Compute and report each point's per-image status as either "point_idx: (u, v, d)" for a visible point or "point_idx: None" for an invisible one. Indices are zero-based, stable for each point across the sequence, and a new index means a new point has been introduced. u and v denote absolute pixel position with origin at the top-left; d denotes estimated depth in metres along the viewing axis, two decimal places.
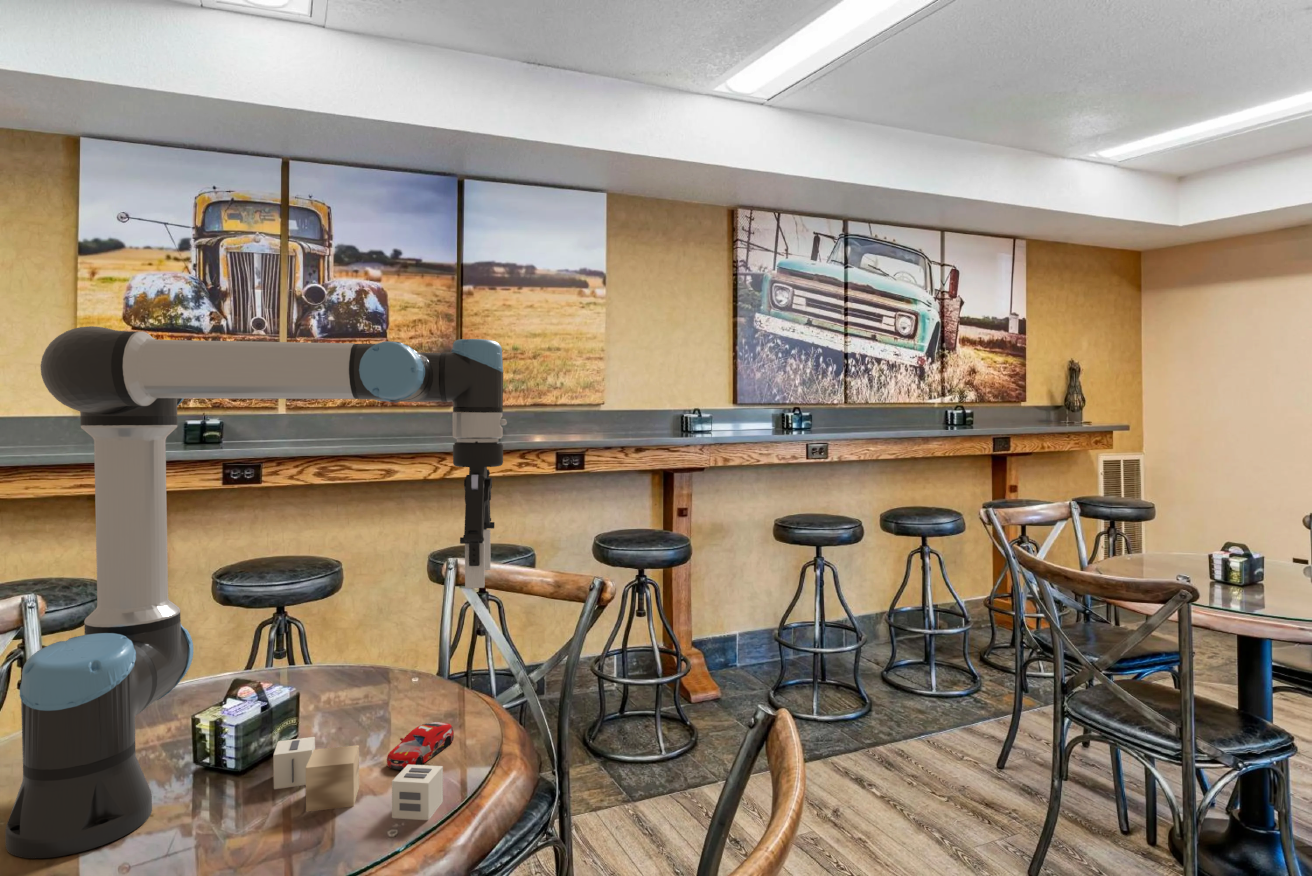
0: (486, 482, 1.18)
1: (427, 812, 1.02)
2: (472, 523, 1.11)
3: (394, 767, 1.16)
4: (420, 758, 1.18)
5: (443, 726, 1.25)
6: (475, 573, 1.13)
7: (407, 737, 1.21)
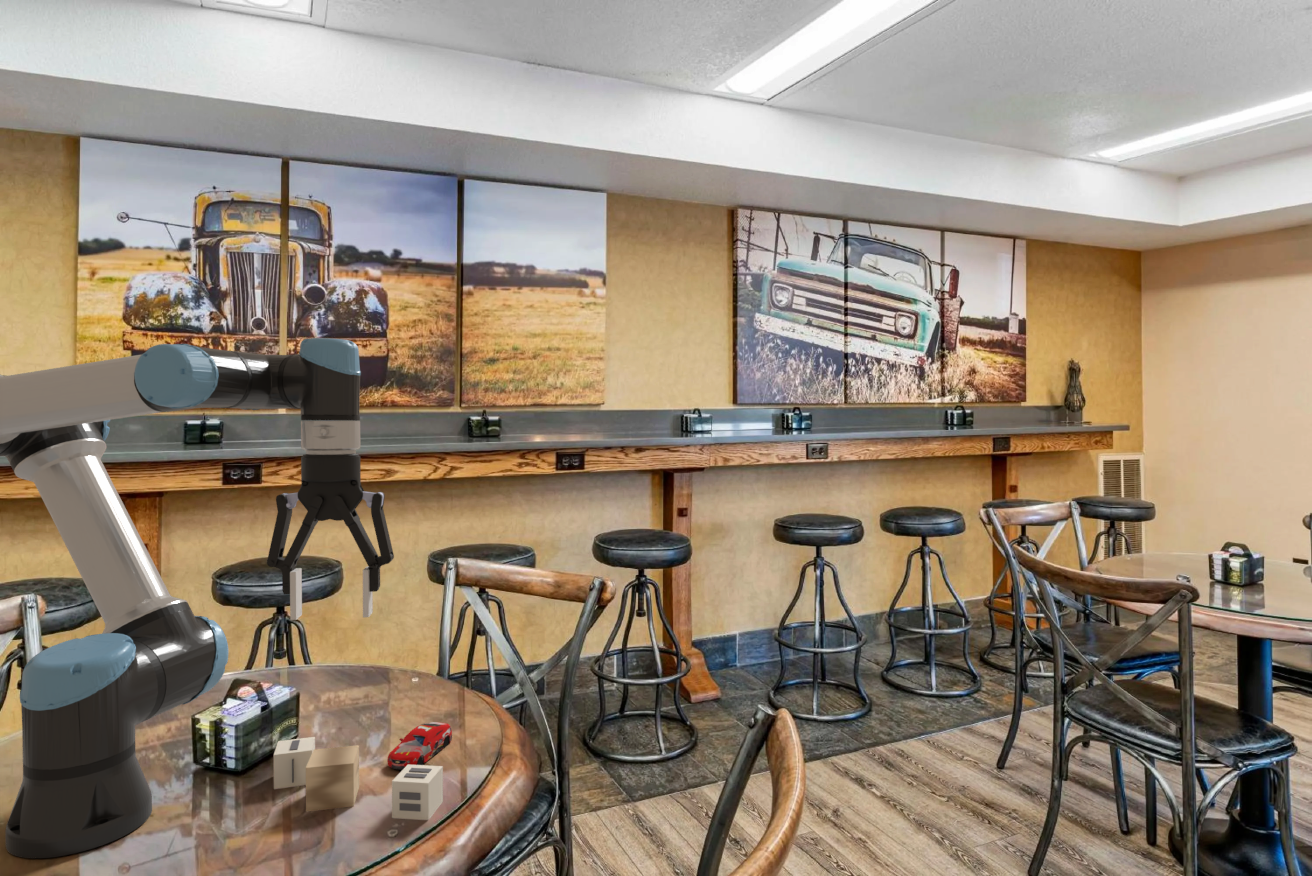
0: None
1: (427, 812, 1.02)
2: None
3: (395, 767, 1.16)
4: (421, 758, 1.18)
5: (442, 726, 1.25)
6: None
7: (407, 737, 1.21)
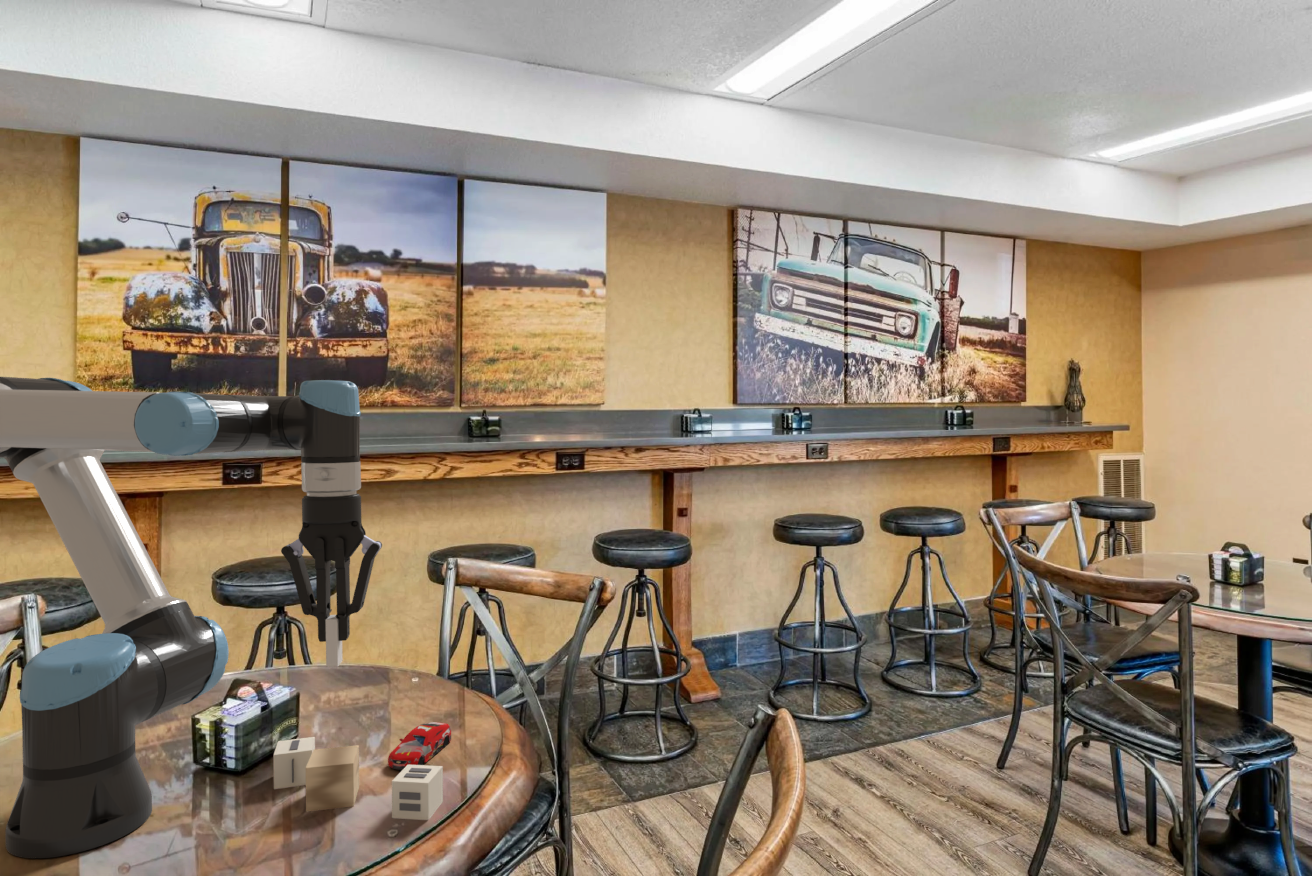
0: None
1: (427, 812, 1.02)
2: None
3: (396, 767, 1.16)
4: (422, 758, 1.18)
5: (442, 726, 1.25)
6: None
7: (407, 737, 1.21)
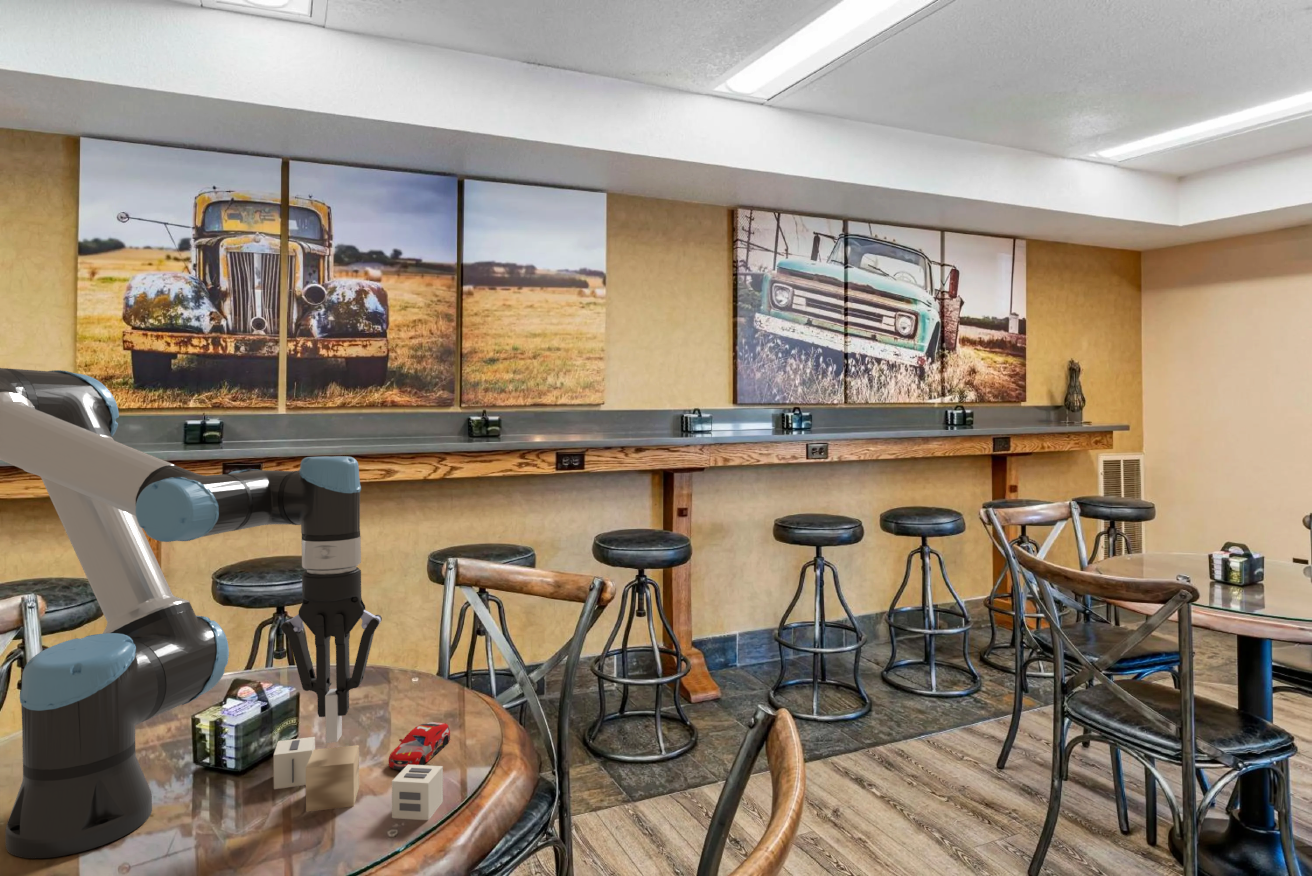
0: None
1: (427, 812, 1.02)
2: None
3: (398, 768, 1.16)
4: (423, 758, 1.18)
5: (441, 726, 1.25)
6: None
7: (407, 738, 1.21)
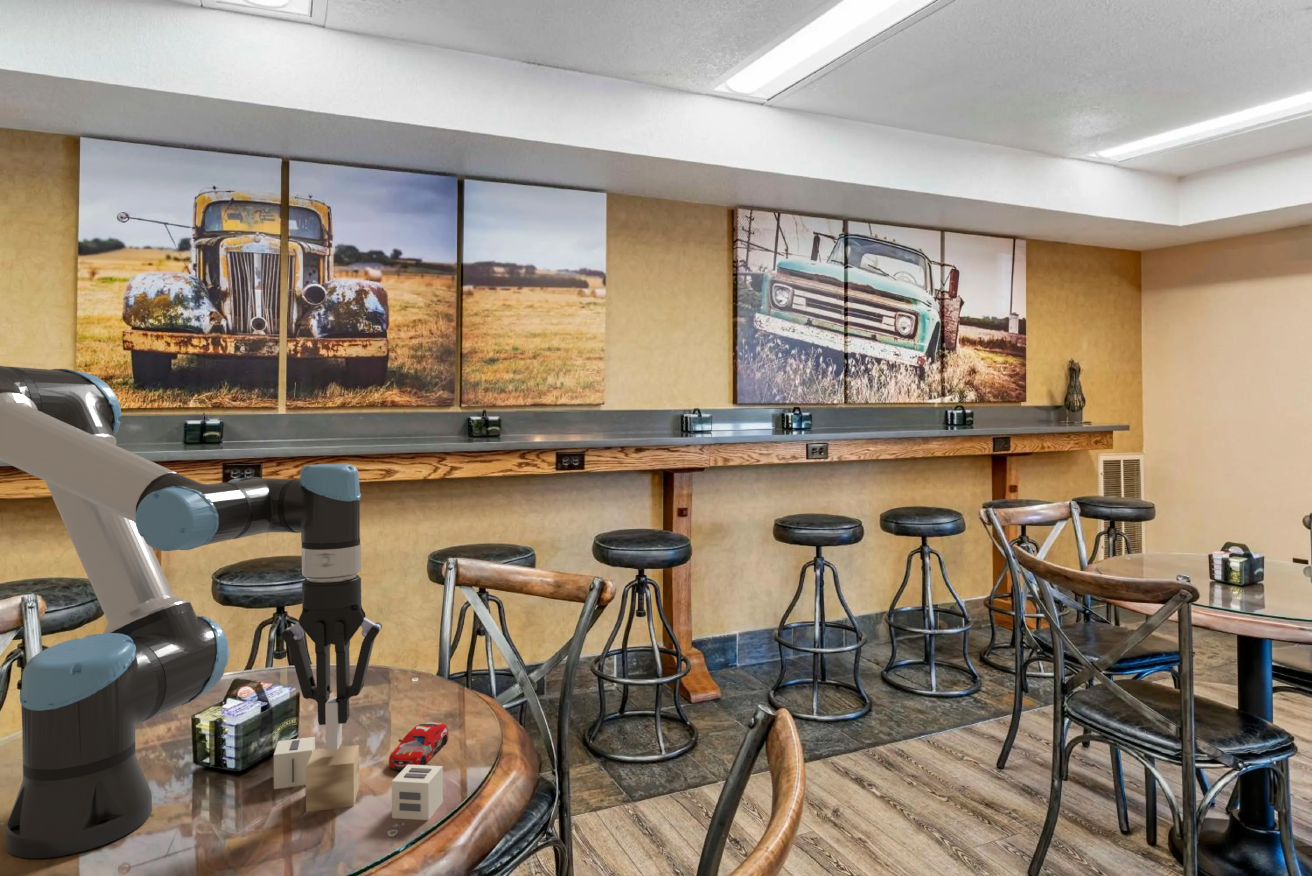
0: None
1: (427, 812, 1.02)
2: None
3: (398, 768, 1.16)
4: (423, 757, 1.18)
5: (439, 725, 1.25)
6: None
7: (406, 738, 1.21)
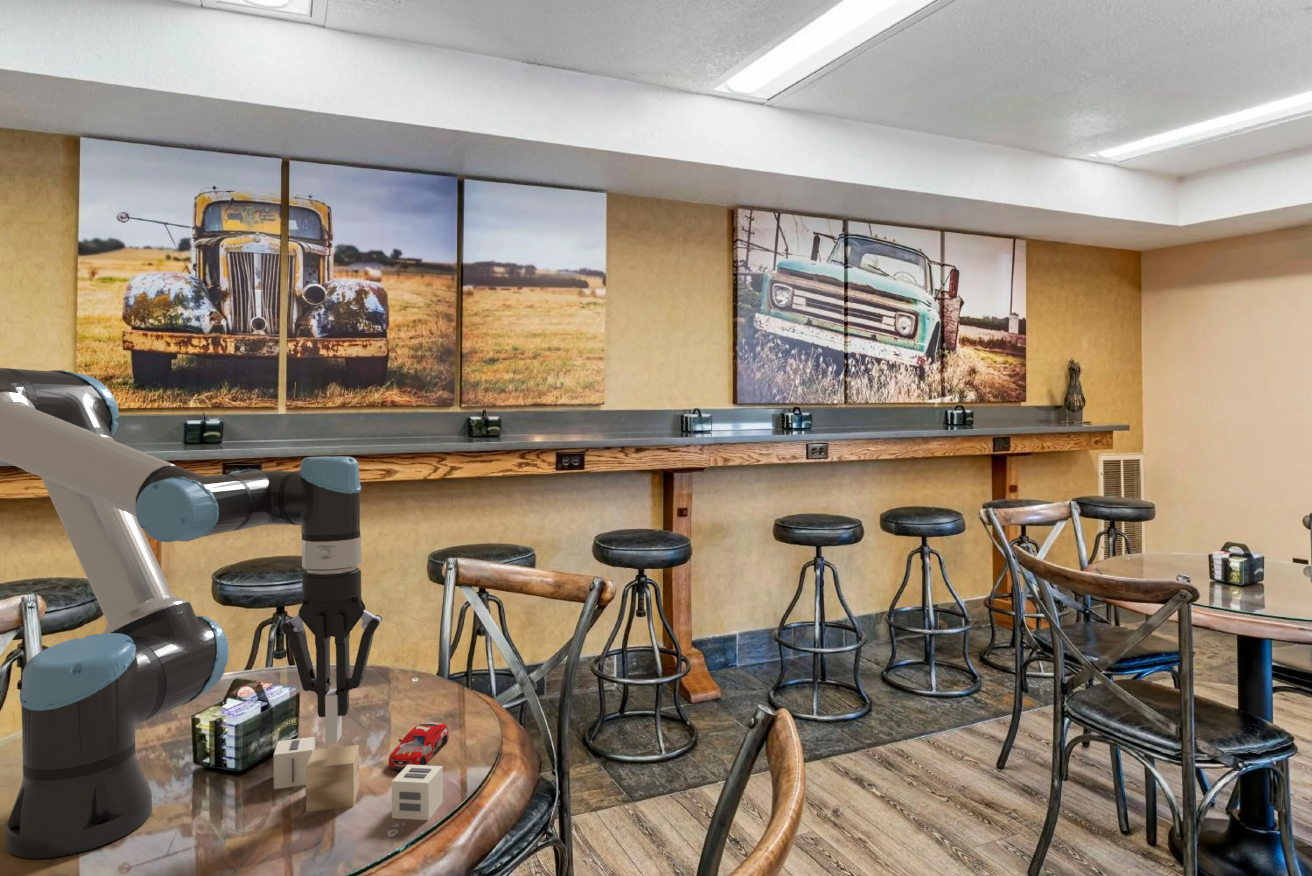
0: None
1: (427, 812, 1.02)
2: None
3: (398, 768, 1.16)
4: (423, 758, 1.18)
5: (439, 725, 1.25)
6: None
7: (406, 738, 1.21)
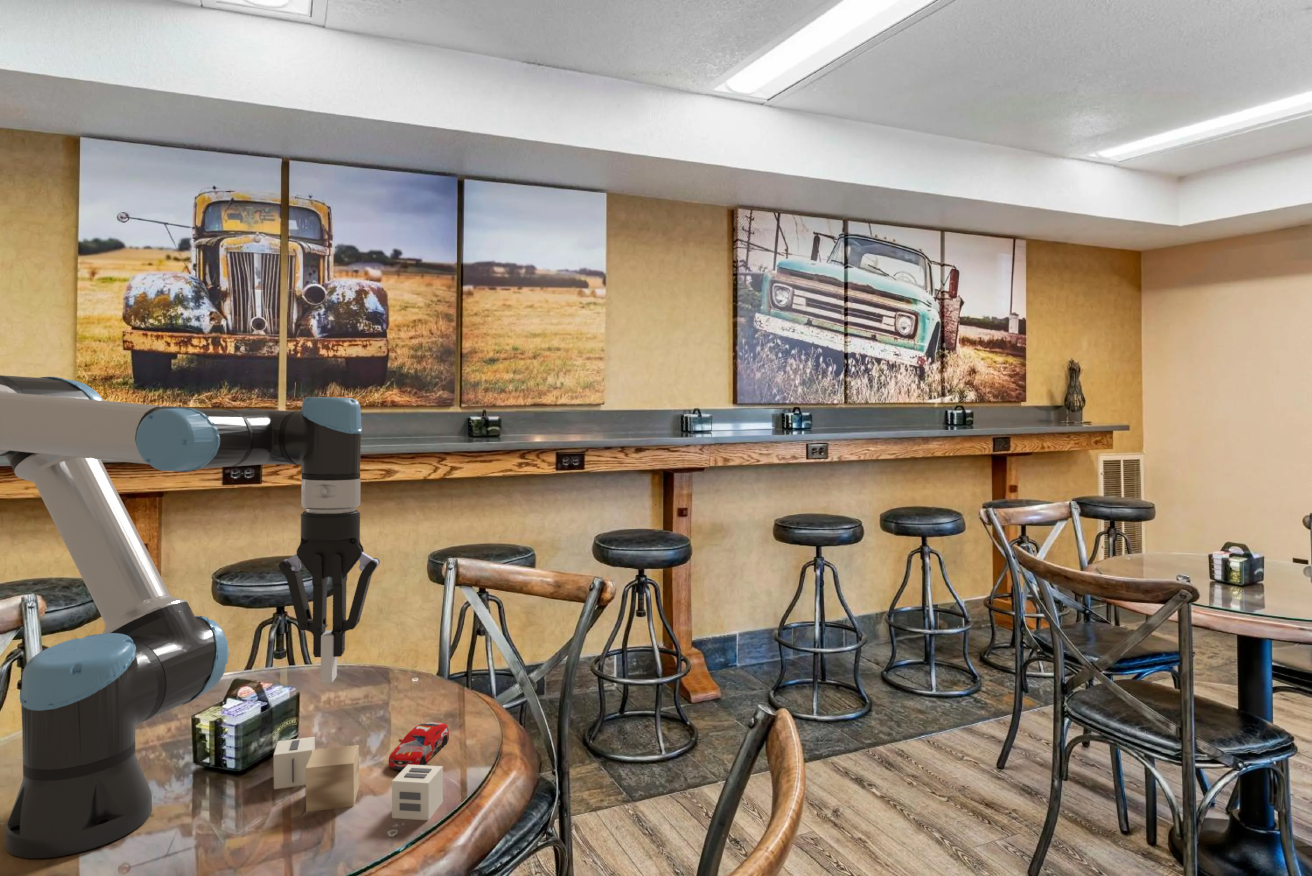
0: None
1: (427, 812, 1.02)
2: None
3: (398, 768, 1.16)
4: (423, 758, 1.18)
5: (440, 725, 1.25)
6: None
7: (406, 738, 1.21)
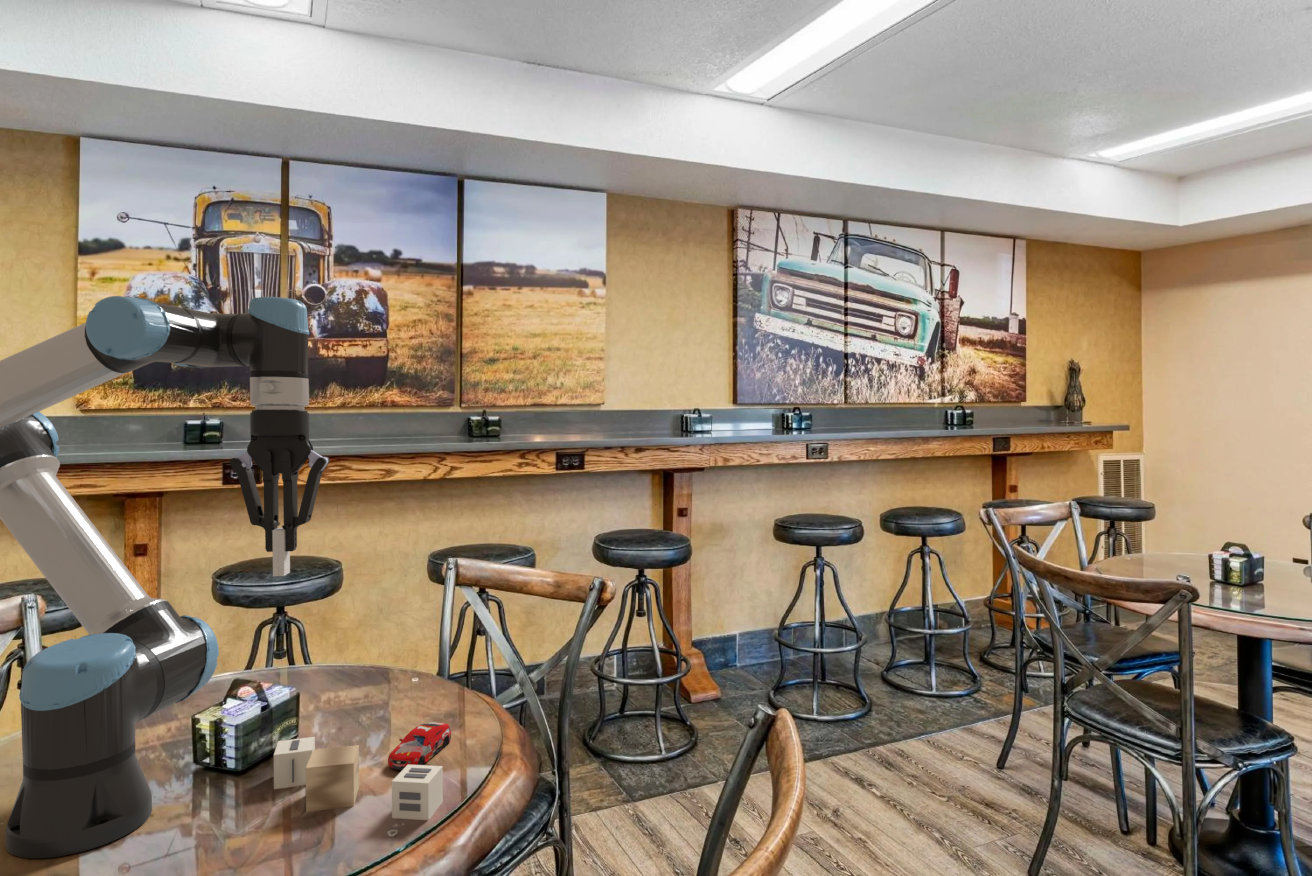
0: None
1: (427, 812, 1.02)
2: None
3: (396, 767, 1.16)
4: (422, 758, 1.18)
5: (441, 726, 1.25)
6: None
7: (407, 737, 1.21)
